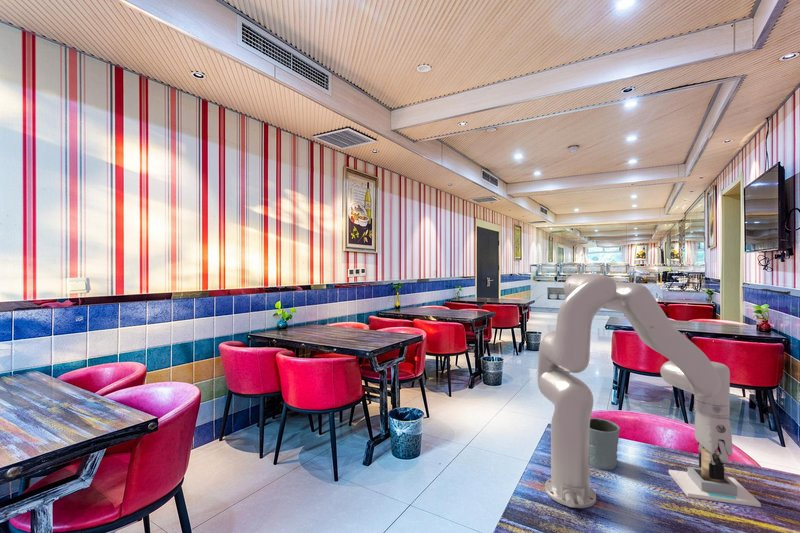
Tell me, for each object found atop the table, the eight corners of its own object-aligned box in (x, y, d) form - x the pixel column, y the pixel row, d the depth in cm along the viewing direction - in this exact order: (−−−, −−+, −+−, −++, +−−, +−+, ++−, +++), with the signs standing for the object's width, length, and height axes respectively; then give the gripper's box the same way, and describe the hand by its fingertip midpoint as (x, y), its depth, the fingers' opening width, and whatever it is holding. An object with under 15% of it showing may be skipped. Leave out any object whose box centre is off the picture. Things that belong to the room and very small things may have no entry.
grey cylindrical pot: (612, 456, 122) (612, 419, 122) (625, 473, 112) (625, 432, 112) (578, 453, 124) (578, 416, 124) (588, 469, 114) (588, 430, 114)
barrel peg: (725, 486, 101) (725, 457, 101) (706, 484, 102) (706, 454, 102) (716, 478, 105) (716, 449, 105) (698, 475, 107) (698, 447, 107)
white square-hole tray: (760, 507, 96) (760, 493, 96) (687, 496, 100) (687, 483, 100) (733, 481, 108) (733, 468, 108) (668, 472, 112) (668, 461, 112)
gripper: (746, 421, 95) (746, 493, 95) (711, 398, 111) (711, 460, 111) (711, 418, 97) (711, 488, 97) (681, 395, 113) (681, 456, 113)
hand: (711, 472), depth 104 cm, fingers open, 4 cm apart
